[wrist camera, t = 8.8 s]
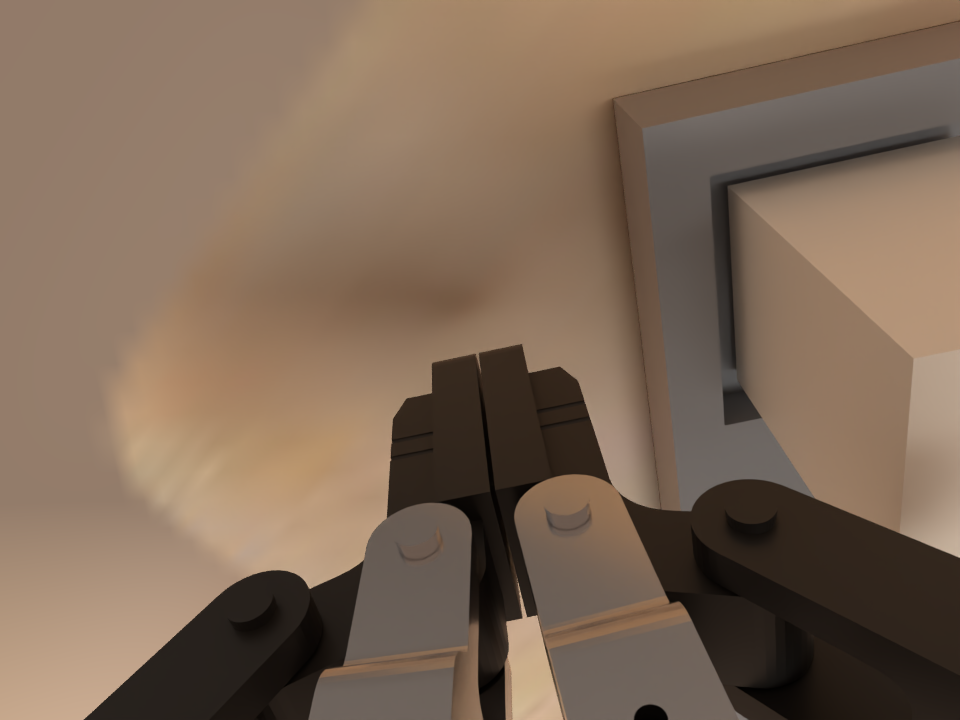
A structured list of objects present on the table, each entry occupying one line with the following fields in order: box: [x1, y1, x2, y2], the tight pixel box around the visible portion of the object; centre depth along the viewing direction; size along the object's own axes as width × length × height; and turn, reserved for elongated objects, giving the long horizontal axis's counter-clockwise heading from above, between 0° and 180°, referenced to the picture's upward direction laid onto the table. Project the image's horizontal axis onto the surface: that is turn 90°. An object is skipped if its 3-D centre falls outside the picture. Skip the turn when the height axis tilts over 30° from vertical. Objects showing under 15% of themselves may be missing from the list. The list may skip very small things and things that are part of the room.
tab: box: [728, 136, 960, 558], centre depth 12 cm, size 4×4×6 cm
